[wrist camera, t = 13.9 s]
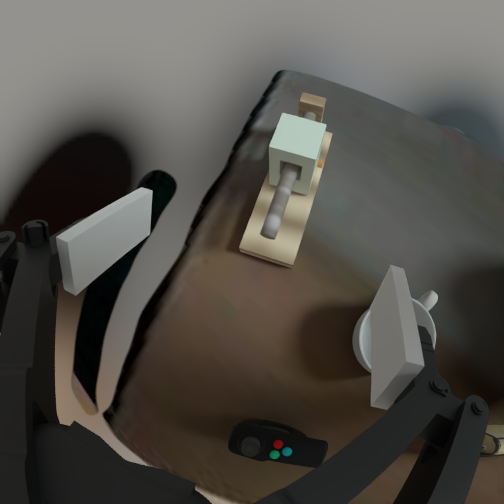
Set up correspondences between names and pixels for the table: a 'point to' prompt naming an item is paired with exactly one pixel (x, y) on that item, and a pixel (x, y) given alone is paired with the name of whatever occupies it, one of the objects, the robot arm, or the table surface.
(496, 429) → the clutch purse
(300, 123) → the sleeve
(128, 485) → the robot arm
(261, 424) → the controller
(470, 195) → the table surface
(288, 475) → the table surface
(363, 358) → the teacup
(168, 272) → the table surface
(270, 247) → the lead screw slider
